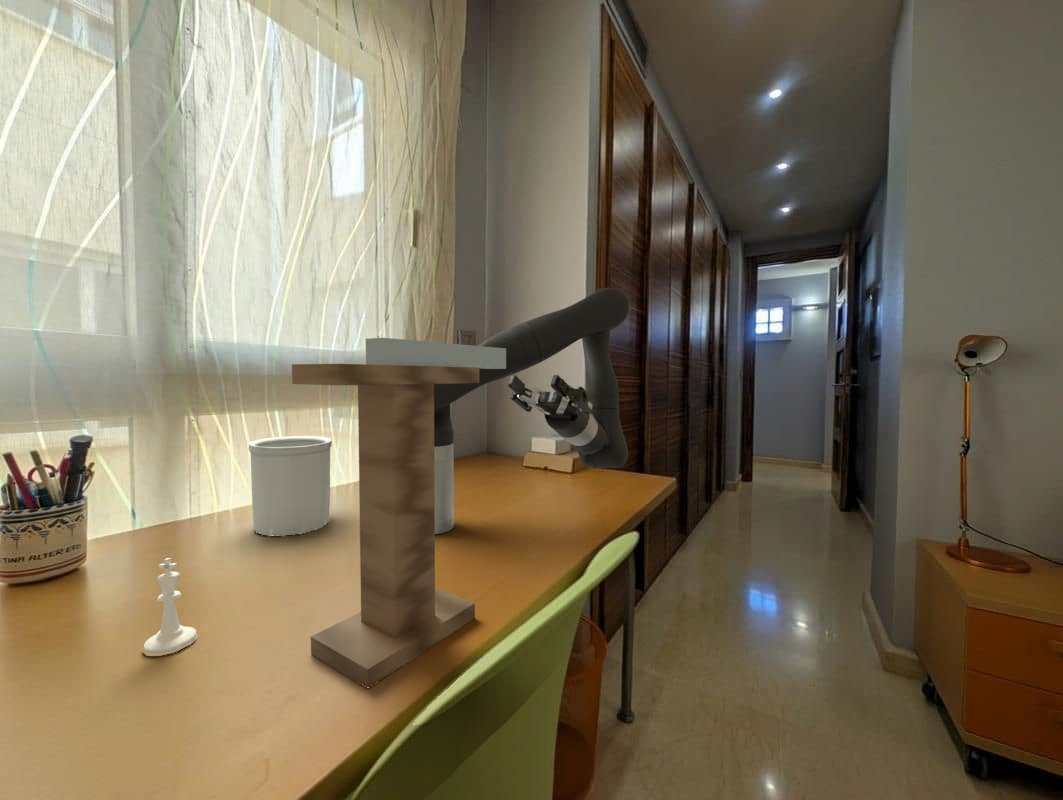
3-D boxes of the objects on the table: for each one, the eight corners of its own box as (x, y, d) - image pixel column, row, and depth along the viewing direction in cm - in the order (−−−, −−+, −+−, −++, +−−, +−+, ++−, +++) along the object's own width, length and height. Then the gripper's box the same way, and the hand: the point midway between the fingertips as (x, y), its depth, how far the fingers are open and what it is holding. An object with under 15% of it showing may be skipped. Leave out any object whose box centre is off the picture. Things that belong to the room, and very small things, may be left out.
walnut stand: (431, 591, 66) (429, 367, 64) (484, 611, 60) (485, 367, 58) (293, 663, 49) (286, 364, 47) (349, 701, 43) (344, 363, 42)
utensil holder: (347, 522, 96) (346, 439, 95) (276, 544, 83) (274, 448, 82) (307, 510, 104) (305, 434, 103) (236, 529, 91) (233, 442, 90)
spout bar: (490, 368, 69) (490, 348, 69) (506, 368, 68) (506, 348, 67) (365, 365, 51) (365, 338, 51) (383, 365, 49) (383, 337, 49)
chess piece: (163, 632, 55) (160, 551, 54) (206, 631, 55) (204, 549, 54) (130, 658, 50) (127, 568, 49) (179, 656, 50) (175, 567, 50)
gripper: (546, 402, 94) (504, 361, 81) (610, 404, 86) (574, 359, 74) (536, 435, 91) (491, 398, 79) (602, 441, 83) (563, 401, 71)
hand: (531, 379), depth 76 cm, fingers open, 8 cm apart
